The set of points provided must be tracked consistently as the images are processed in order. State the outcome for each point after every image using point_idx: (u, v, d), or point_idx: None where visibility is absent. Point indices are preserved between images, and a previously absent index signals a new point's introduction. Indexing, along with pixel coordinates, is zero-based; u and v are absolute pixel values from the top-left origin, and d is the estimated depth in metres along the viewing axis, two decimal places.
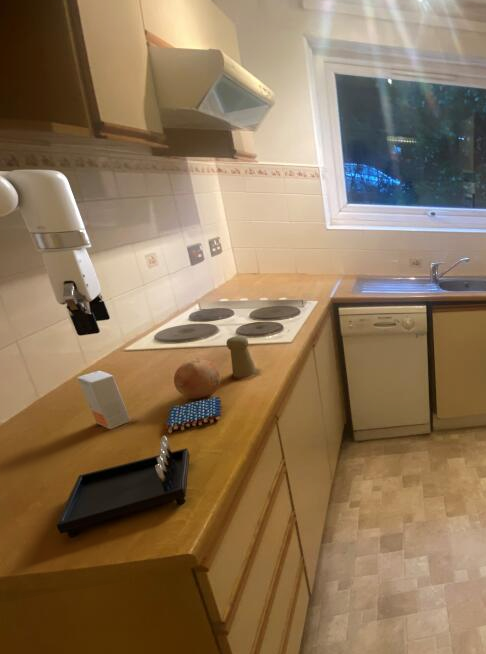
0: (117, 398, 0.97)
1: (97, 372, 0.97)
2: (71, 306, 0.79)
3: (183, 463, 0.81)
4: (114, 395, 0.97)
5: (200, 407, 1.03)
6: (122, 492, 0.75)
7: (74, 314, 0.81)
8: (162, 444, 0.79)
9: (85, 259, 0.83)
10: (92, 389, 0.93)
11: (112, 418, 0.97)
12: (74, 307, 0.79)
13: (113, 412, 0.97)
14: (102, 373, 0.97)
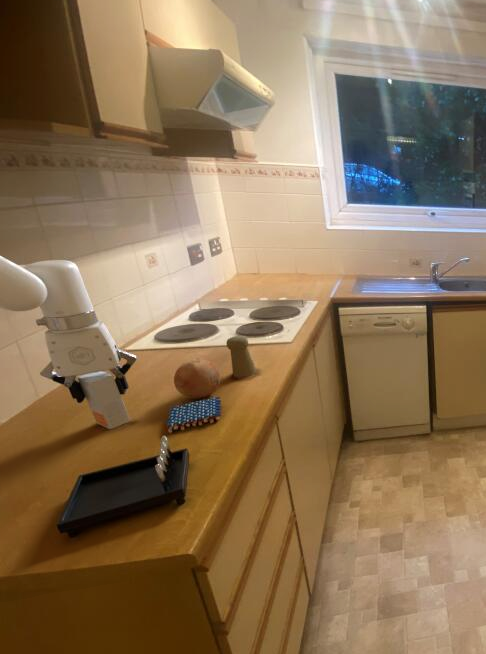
0: (117, 398, 0.97)
1: (97, 372, 0.97)
2: (131, 365, 0.98)
3: (183, 463, 0.81)
4: (114, 395, 0.97)
5: (200, 407, 1.03)
6: (122, 492, 0.75)
7: (124, 374, 0.98)
8: (162, 444, 0.79)
9: None
10: (92, 389, 0.93)
11: (112, 418, 0.97)
12: None
13: (113, 412, 0.97)
14: (102, 373, 0.97)
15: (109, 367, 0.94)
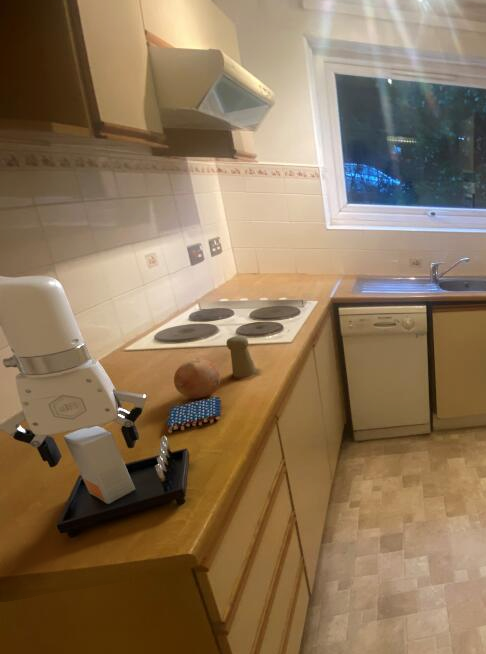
0: (117, 462, 0.73)
1: (91, 427, 0.73)
2: None
3: (183, 463, 0.81)
4: (113, 458, 0.72)
5: (200, 407, 1.03)
6: None
7: (134, 421, 0.73)
8: (162, 444, 0.79)
9: None
10: (83, 453, 0.69)
11: (110, 489, 0.73)
12: (142, 408, 0.74)
13: (112, 481, 0.73)
14: (97, 429, 0.72)
15: (105, 420, 0.69)
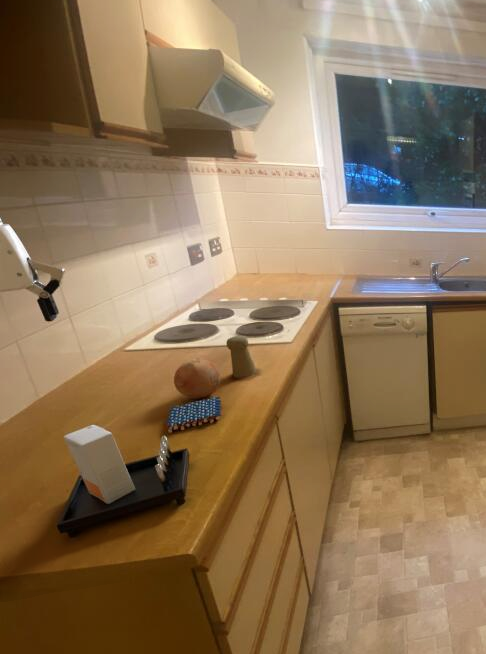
0: (117, 462, 0.73)
1: (90, 427, 0.73)
2: (60, 281, 0.73)
3: (183, 463, 0.81)
4: (113, 458, 0.72)
5: (200, 407, 1.03)
6: None
7: (51, 293, 0.73)
8: (162, 444, 0.79)
9: None
10: (83, 453, 0.69)
11: (110, 489, 0.73)
12: (60, 282, 0.73)
13: (112, 481, 0.73)
14: (97, 429, 0.72)
15: (18, 286, 0.69)
